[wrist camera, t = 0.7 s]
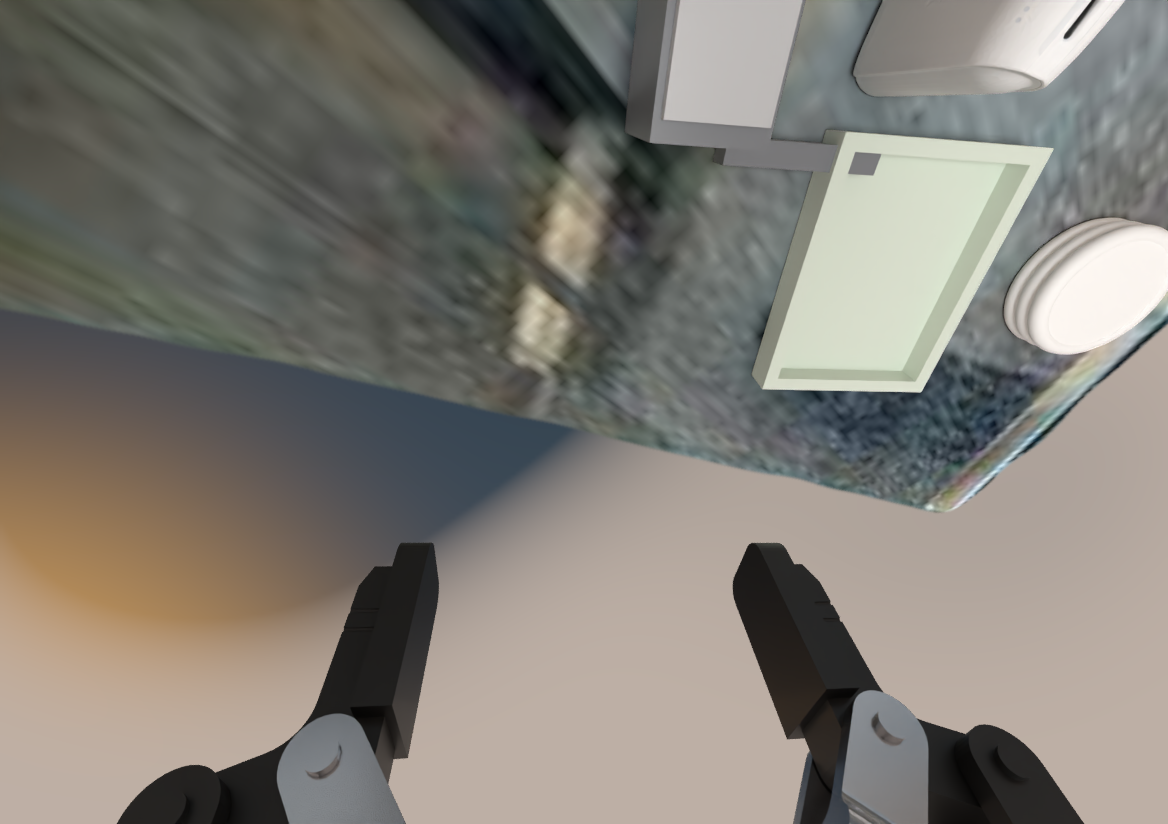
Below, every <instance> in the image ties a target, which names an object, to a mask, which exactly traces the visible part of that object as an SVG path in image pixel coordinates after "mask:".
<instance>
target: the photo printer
mask: <svg viewBox="0 0 1168 824" xmlns="http://www.w3.org/2000/svg"><path fill="white" fill-rule="evenodd" d="M1124 1H1125V0H883V1H882V4H881V6H880V8H879V10H878V13H877V15H876V17H875V19H874V21H873V23H872V26H871V28H870V30H869V32H868V35H867V37H866V39H865V41H864V44H863V46H862V48H861V51H860V54H859V56H858V59H857V62H856V64H855V68H854V71H853V75H854V76H855V77H856V81H857V83H858V85H859V87H860V88H861V89H862V90H863V91H864V92H865V93H867V94H868V95H871V96H875V97H893V96H933V95H973V94H1001V93H1008V92H1024V91H1035V90H1040V89H1043V88H1045V87H1046V86H1047V85H1048V84H1049V83H1051V82H1052V81H1053V80H1054V79H1055V78H1056V77H1057V76H1058V75H1059V74H1060V73H1061V72H1062V71H1063V70H1064V69H1065V68H1066V67H1067V66H1068V65H1069V64H1070V63H1071V62H1072V61H1073V60H1074V59H1075V58H1076V57H1077V56H1078V55H1079V54H1080V53H1081V52H1082V51H1083V50H1084V49H1085V47H1086V46H1087V45H1088V44H1089V43H1090V42H1091V41H1092V40H1093V38H1094V37H1095V36H1096V35H1097V34H1098V33H1099V31H1100V30H1101V29H1102V28H1103V27H1104V25H1105V24H1106V23H1107V22H1108V21H1109V20H1110V18H1111V17H1112V16H1113V15H1114V13H1115V12H1116V11H1117V10H1118V8H1119V7H1120V6H1121V5H1122V3H1123V2H1124Z"/></svg>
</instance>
